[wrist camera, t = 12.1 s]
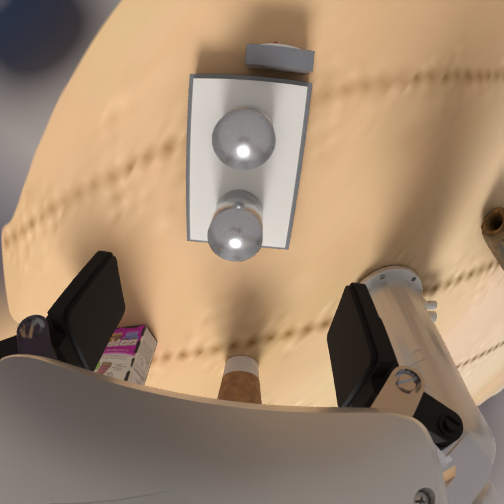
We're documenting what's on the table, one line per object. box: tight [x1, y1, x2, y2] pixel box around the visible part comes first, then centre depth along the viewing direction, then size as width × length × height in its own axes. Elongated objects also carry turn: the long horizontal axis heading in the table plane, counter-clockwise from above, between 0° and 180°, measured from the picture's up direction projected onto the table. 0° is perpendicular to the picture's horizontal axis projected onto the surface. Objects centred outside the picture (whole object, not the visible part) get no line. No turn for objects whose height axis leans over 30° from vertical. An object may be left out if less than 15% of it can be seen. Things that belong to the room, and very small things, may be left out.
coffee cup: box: [217, 356, 262, 404], centre depth 43 cm, size 8×8×15 cm
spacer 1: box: [212, 105, 276, 170], centre depth 24 cm, size 5×5×6 cm
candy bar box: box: [93, 325, 157, 385], centre depth 40 cm, size 11×5×16 cm, turn 105°
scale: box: [186, 42, 315, 250], centre depth 28 cm, size 12×22×5 cm, turn 175°
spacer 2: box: [207, 190, 263, 261], centre depth 28 cm, size 5×5×6 cm
